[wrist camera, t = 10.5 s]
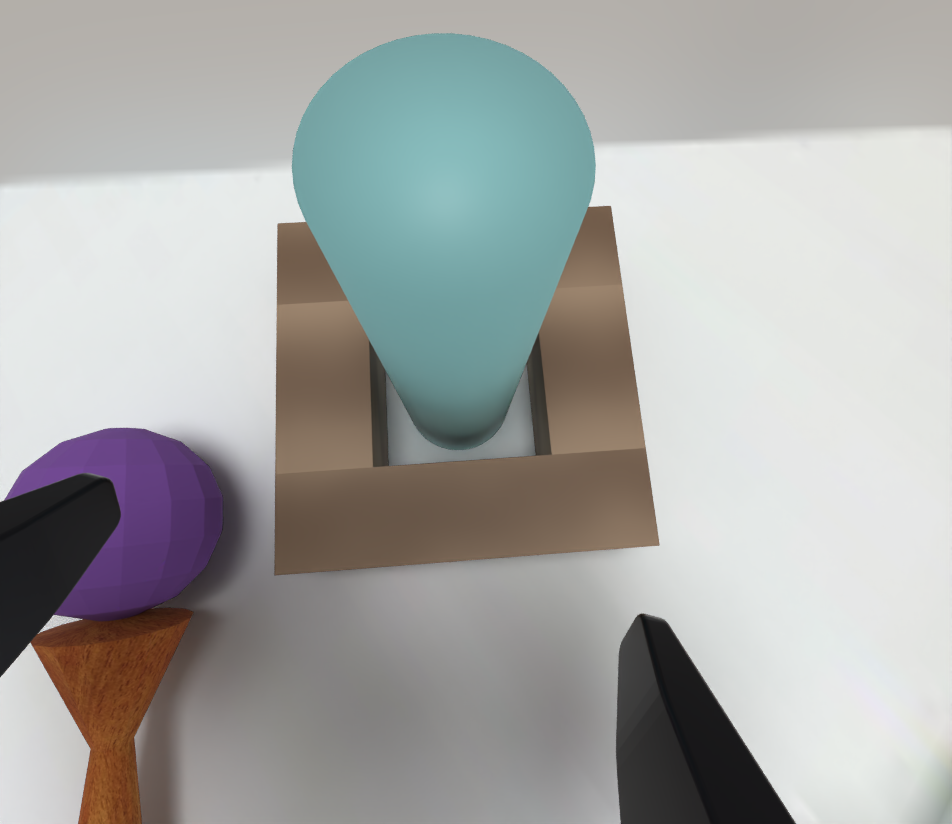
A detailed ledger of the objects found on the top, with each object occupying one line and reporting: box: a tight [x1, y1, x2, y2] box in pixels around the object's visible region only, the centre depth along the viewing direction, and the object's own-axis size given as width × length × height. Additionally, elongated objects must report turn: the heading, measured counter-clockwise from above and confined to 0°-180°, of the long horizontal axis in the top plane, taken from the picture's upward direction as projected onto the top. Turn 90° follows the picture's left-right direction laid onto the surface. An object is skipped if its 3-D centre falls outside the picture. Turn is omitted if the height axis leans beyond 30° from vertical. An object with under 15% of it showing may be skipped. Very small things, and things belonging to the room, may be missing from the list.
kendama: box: [5, 428, 223, 824], centre depth 16 cm, size 6×6×20 cm
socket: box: [275, 206, 659, 575], centre depth 19 cm, size 12×12×4 cm
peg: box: [292, 33, 596, 450], centre depth 14 cm, size 4×4×14 cm
